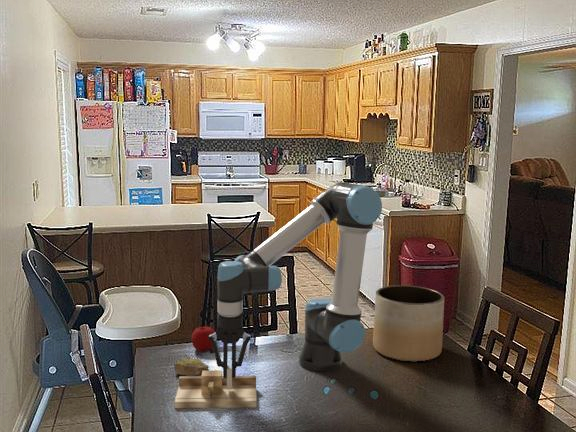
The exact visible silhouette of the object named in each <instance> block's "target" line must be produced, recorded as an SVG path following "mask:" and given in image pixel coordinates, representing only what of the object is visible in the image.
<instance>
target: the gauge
mask: <svg viewBox="0 0 576 432" xmlns="http://www.w3.org/2000/svg"><path fill="white" fill-rule="evenodd" d="M200 376H201V395H210V397H212V395H221V394H222V376H223V369H222V370H221V369H220V370H218V369H217V370H205V371H202V372H201V375H200Z"/></svg>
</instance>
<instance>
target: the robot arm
mask: <svg viewBox="0 0 576 432" xmlns="http://www.w3.org/2000/svg"><path fill="white" fill-rule="evenodd" d="M382 202H383V201H382V199H381V197H380V194H379V193H378V192H377V191H376V190H375V189H373V188H371V187H369V186H367V185H362V184H355V183H350V182H348V181H347V182H344V181H343V182H339V183H338V182H337V183H335V184H333V185H332V186H329V187H328V188H327V189H325V190H323V191H322V192H321V193H319V194H318V195H316V197H314V198H313V199H311V201H310V205H309V206H308V207H306V208H305V209H304V210H302V211H301V212H300V213H299V214H297V215H296V216H295V217H293V219H291V220H290V221H289V222H287V223H286V224H285V225H284V226H282V227H280V229H279V230H277V231H275V233H273V234H272V235H270V236H269V237H268V238H267V239H266V240H264V241H263V242H262V243H261V244H260V245H258V246H257V247H256V248H254V250H252V251H250V252H249V253H247V254H241V255H238V256H237V257H236V258H235V259H234V261H233V260H228V261H227V260H226V261H222V262H220V263H219V265H218V266H217V267H218V269H217V277H216V279H217V305H216V306H217V307H216V308H217V327H216V329H215V331H214V332H215V333H213V334H210V335H209V341H210V342H211V344H212V346H213V348H212V350H213V353H214V357H215V361H216V366H217V367H219V368H222V376H223V377H224V378H227V389H232V378H235V377H236V376H237V368H238V367H240V368H241V367H242V366H243V361H244V359H245V358H244V357H245V355H246V351H247V347H248V344H249V342H250V341H251V339H252V336H251V334H250V333H246V332H245V329H244V327H243V320H244V319H243V316H244V315H243V313H244V311H243V309H244V307H243V305H244V303H243V301H244V297H243V296H244V294H248V293H250V294H251V293H261V292H271V291H277V290H279V289H280V288H281V286H282V283H283V277H282V272H281V269H280V268H279V267H278V266H277V265H273V264H274V263H276V262H277V261H278V260H279V259H280V258H282V257H283V256H284V255H286V254H287V253H288V252H289V251H291V250H292V249H293V248H295V247H296V246H297V245H298V244H300V243H301V242H302V241H303V240H305V239H306V238H307V237H308V236H310V235H311V234H312V233H314V232H315V231H316V230H317V229H319V228H320V227H321V226H322V225H324V224H330V223H331V222H332V221H333V220H336V227H338V229H339V231H340V232H339V238H338V240H339V241H338V246H337V247H338V248H337V255H336V256H337V257H336V262H335V263H336V265H335V270H334V271H335V272H334V279H333V287H332V294H331V298H323V297H321V298H313V299H309V300H308V301H306V303H305V308H304V342H303V344H302V348H301V350H300V352H299V356H298V358H299V359H298V362H299V365H300V366H301V367H302V368H304V369H306V370H310V371H313V372H314V371H315V372H332V371H335V370H338V369H340V368H341V367H342V364H343V356H342V353H344V354H347V353H348V354H349V353H352V352H355V351H356V350H357V349H358V347H359V348H360V346H361V345H362V344H363V343H364V340H365V338H366V328H365V326H364V324H363V323H362V322H361V317H362V310H361V308H360V307H359V305H358V304H359V298H360V289H361V281H362V274H363V267H364V259H365V252H366V243H367V236H368V233H370V232H371V231H372V230H373V226H374V223H375V222H377V220H378V219H379V218H380V216H381V215H382V210H383V203H382ZM241 338H242V344H241V348H240V352H239V354H238V355H239V356H238V358H237V343H238V342H239V341H240V339H241ZM217 339H219V340H220V341H221V342H222V343H223V344H222V345H223V346H222V349H223V353H222V355H223V356H222V357H221V353H220V349H219V345H218V343H217ZM229 345H231V365H228V356H229V355H228V353H229V352H228V346H229ZM237 359H238V360H237Z"/></svg>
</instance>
